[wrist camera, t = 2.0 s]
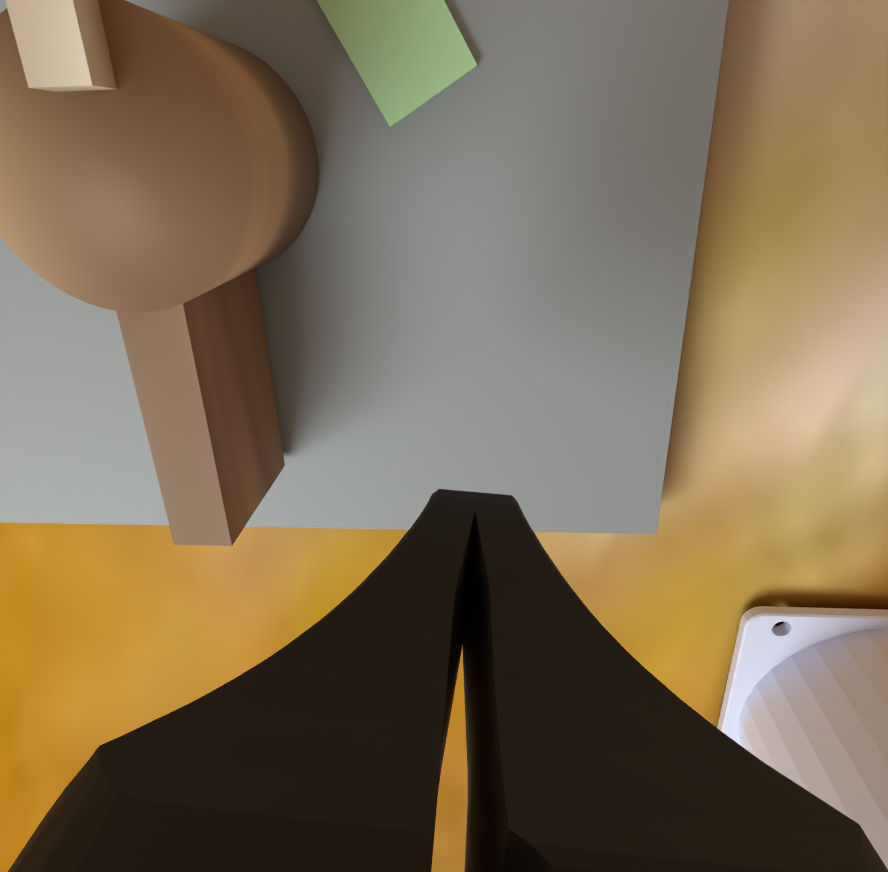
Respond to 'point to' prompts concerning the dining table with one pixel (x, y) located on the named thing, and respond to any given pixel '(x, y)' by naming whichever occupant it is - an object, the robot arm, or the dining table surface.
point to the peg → (161, 224)
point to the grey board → (429, 283)
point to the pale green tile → (401, 49)
